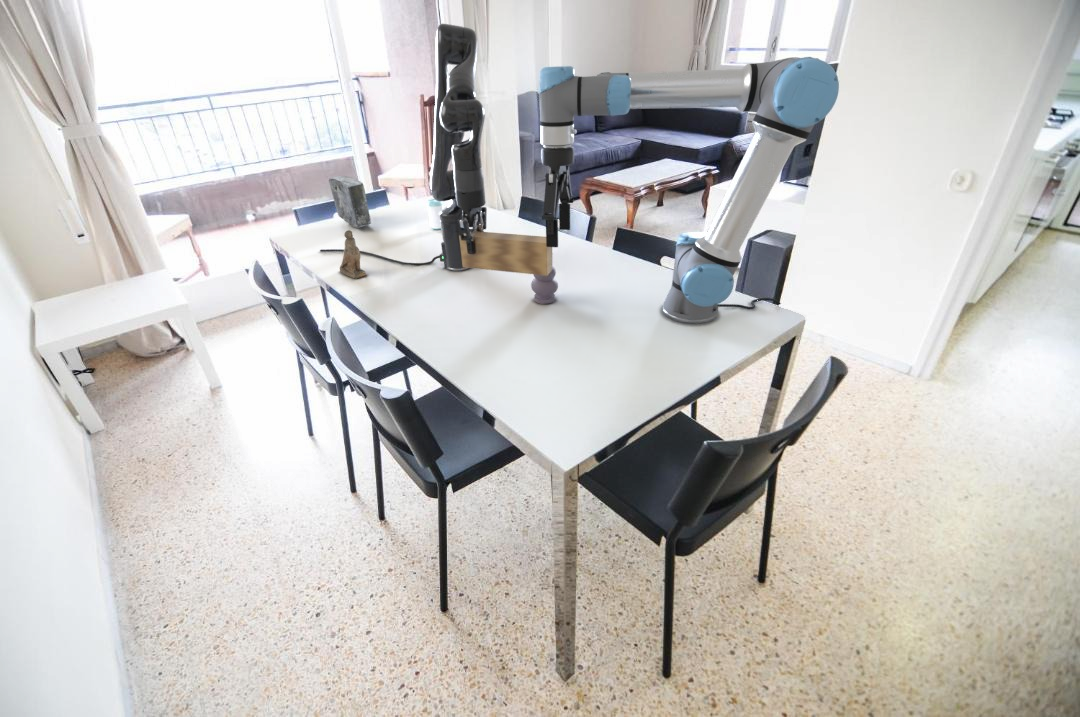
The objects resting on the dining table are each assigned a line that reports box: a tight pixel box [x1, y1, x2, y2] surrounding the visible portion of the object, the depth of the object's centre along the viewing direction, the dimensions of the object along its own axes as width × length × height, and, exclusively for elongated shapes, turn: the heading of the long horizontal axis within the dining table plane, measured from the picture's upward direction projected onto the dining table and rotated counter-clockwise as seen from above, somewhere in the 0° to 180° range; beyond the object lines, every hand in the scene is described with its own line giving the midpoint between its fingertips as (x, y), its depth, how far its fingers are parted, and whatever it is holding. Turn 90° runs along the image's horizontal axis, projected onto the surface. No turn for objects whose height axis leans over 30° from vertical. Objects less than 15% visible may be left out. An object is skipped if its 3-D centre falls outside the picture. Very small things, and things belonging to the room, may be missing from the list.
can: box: [426, 198, 445, 230], centre depth 220 cm, size 7×7×12 cm
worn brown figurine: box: [339, 229, 367, 280], centre depth 174 cm, size 12×6×18 cm, turn 43°
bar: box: [459, 231, 554, 276], centre depth 134 cm, size 25×5×9 cm, turn 72°
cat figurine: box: [530, 265, 559, 305], centre depth 151 cm, size 9×8×12 cm
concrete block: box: [328, 175, 372, 229], centre depth 226 cm, size 27×9×20 cm, turn 36°
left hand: (475, 250), depth 137 cm, fingers closed on bar, 4 cm apart
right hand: (558, 237), depth 123 cm, fingers open, 13 cm apart
